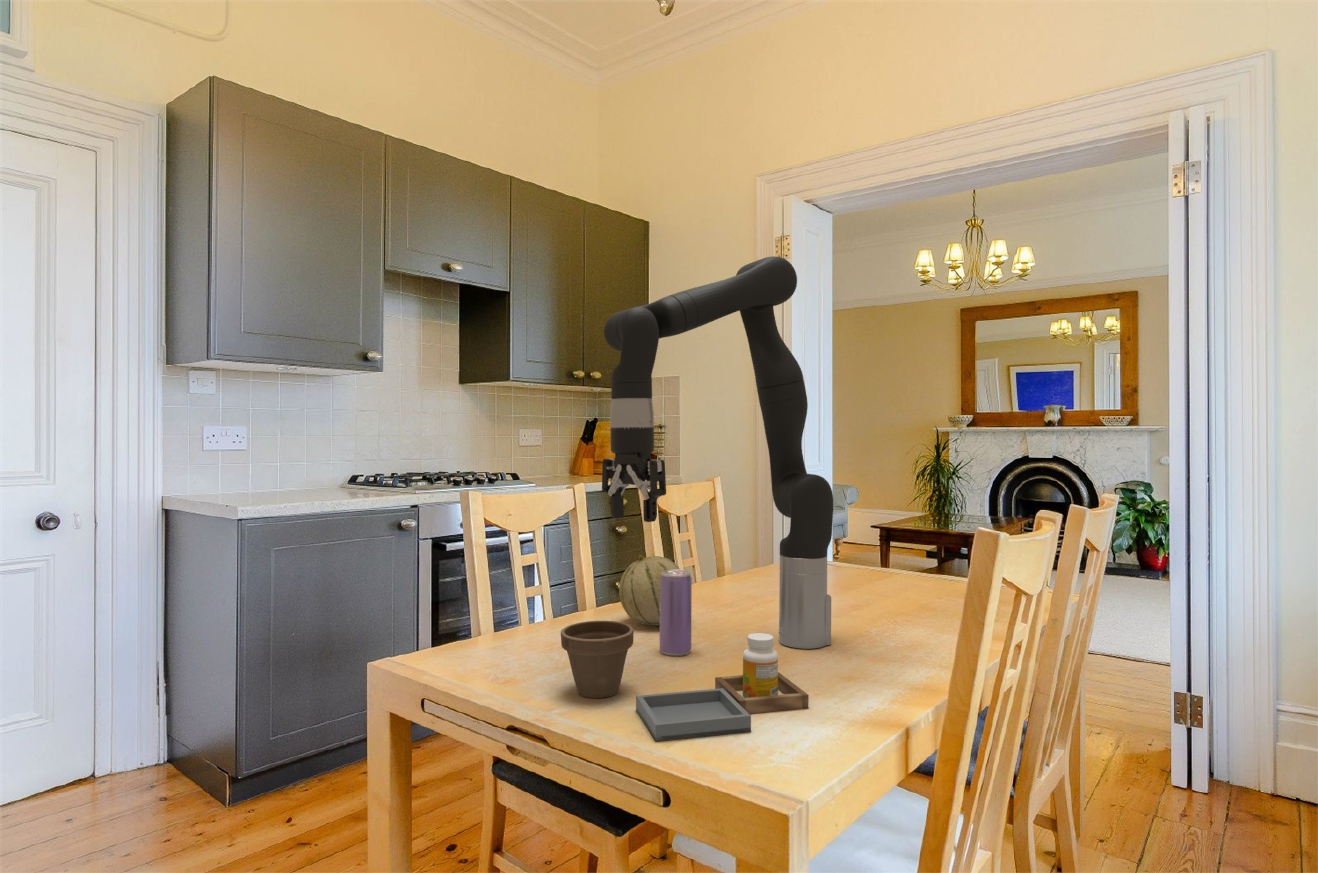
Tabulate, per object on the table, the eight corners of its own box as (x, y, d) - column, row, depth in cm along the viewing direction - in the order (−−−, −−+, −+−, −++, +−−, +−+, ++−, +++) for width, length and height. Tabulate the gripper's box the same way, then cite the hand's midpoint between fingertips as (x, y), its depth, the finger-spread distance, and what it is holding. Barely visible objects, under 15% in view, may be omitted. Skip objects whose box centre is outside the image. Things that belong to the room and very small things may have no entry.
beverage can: (688, 657, 139) (688, 576, 139) (656, 655, 140) (656, 574, 140) (693, 648, 145) (693, 570, 144) (662, 646, 146) (663, 568, 146)
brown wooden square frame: (778, 684, 124) (778, 672, 124) (808, 708, 114) (808, 694, 114) (715, 689, 122) (715, 677, 122) (739, 714, 111) (739, 701, 111)
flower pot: (572, 709, 113) (573, 642, 113) (552, 686, 123) (552, 624, 123) (644, 698, 117) (644, 634, 117) (618, 677, 128) (618, 617, 128)
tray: (722, 702, 116) (722, 688, 116) (750, 731, 105) (751, 715, 105) (636, 710, 112) (636, 695, 112) (655, 741, 101) (655, 725, 101)
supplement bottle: (739, 693, 120) (740, 632, 120) (773, 692, 121) (773, 631, 120) (746, 705, 115) (746, 641, 115) (781, 704, 115) (781, 640, 115)
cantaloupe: (701, 626, 161) (701, 556, 161) (643, 637, 153) (643, 562, 152) (661, 612, 173) (662, 547, 173) (606, 621, 165) (606, 552, 165)
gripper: (676, 425, 128) (677, 521, 128) (622, 425, 138) (623, 514, 138) (643, 425, 123) (644, 525, 123) (589, 426, 133) (590, 518, 133)
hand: (633, 519), depth 131 cm, fingers open, 8 cm apart
